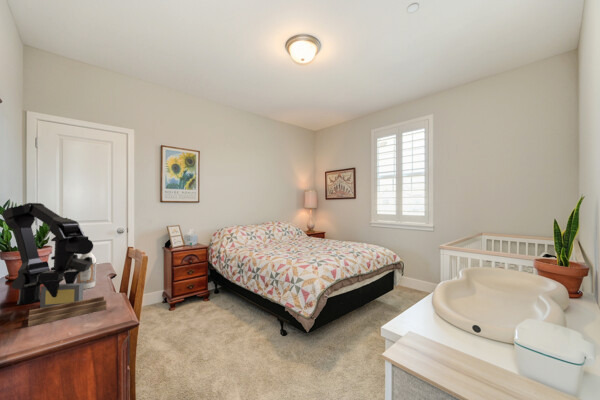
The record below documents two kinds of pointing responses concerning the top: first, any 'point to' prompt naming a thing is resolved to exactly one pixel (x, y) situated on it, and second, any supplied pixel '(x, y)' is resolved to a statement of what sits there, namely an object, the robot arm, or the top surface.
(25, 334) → the top surface
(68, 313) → the picture ledge
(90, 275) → the bath foam
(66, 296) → the photo frame
